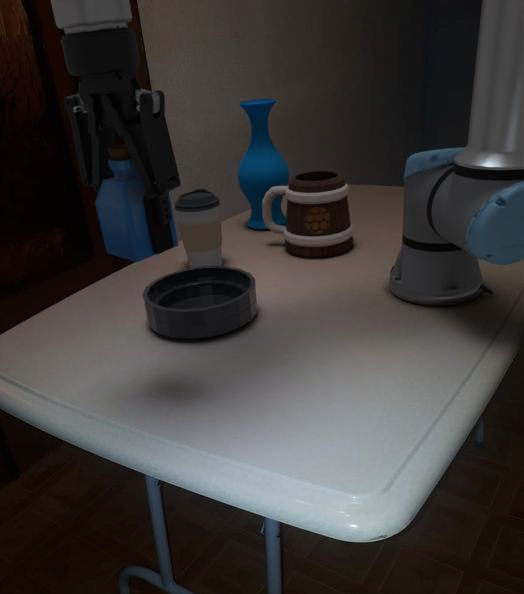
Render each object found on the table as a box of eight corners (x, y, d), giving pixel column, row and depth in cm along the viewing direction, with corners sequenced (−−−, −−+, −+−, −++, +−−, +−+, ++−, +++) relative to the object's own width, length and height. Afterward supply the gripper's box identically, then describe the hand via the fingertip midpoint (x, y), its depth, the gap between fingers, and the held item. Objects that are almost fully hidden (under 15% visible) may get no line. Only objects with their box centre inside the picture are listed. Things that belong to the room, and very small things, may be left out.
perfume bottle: (107, 253, 68) (82, 151, 62) (147, 238, 72) (127, 140, 66) (137, 262, 64) (114, 154, 58) (178, 245, 68) (160, 142, 62)
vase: (299, 218, 140) (293, 96, 126) (280, 233, 130) (271, 104, 117) (256, 216, 145) (245, 99, 131) (234, 231, 135) (220, 106, 121)
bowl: (279, 305, 96) (277, 275, 93) (209, 353, 83) (204, 320, 81) (199, 287, 106) (194, 260, 103) (126, 327, 93) (119, 297, 91)
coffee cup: (220, 273, 112) (211, 198, 104) (178, 273, 114) (165, 199, 106) (231, 257, 119) (223, 186, 112) (191, 257, 121) (181, 187, 114)
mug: (360, 236, 124) (360, 167, 116) (345, 261, 112) (344, 185, 104) (276, 233, 130) (271, 168, 123) (253, 256, 118) (246, 185, 111)
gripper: (193, 17, 54) (223, 246, 65) (66, 35, 64) (112, 229, 76) (136, 21, 49) (180, 268, 60) (9, 40, 59) (67, 247, 70)
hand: (142, 246), depth 68 cm, fingers closed on perfume bottle, 7 cm apart
